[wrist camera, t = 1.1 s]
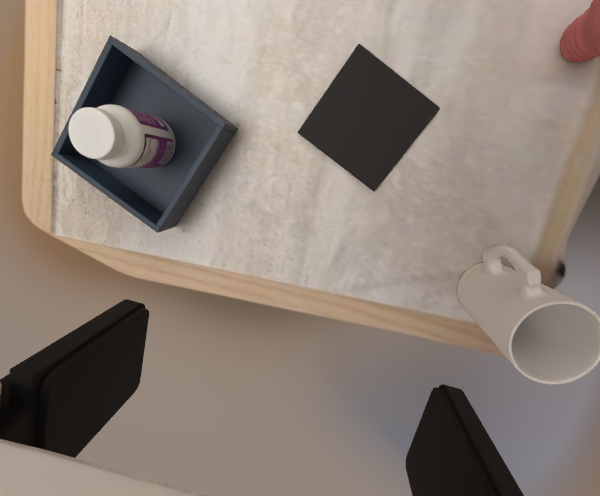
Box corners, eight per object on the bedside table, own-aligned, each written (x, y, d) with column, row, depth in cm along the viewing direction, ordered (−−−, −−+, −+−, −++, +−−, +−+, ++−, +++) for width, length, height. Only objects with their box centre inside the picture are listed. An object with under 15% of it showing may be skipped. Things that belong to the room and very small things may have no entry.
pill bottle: (122, 127, 36) (47, 112, 27) (164, 108, 35) (102, 85, 26) (143, 175, 37) (78, 176, 28) (185, 157, 36) (133, 152, 27)
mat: (358, 44, 32) (359, 43, 32) (438, 108, 33) (440, 108, 32) (297, 132, 35) (297, 132, 34) (373, 191, 35) (373, 191, 35)
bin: (135, 50, 35) (109, 34, 31) (238, 128, 35) (226, 123, 31) (79, 156, 38) (50, 154, 34) (175, 226, 38) (157, 232, 34)
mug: (524, 309, 36) (613, 373, 25) (461, 324, 37) (518, 392, 26) (505, 221, 35) (592, 247, 23) (440, 240, 36) (491, 273, 24)
